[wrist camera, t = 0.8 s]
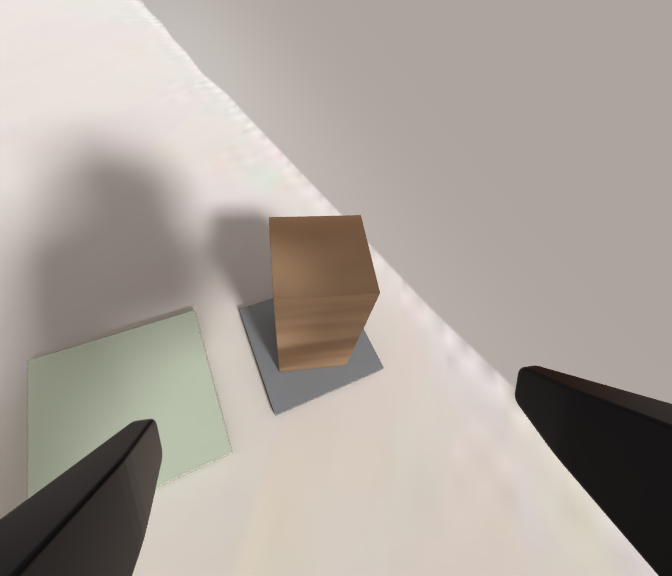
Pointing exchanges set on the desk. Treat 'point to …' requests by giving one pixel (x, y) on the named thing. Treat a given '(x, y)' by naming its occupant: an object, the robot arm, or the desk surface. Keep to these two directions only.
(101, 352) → the sage plate
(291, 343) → the walnut block
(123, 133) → the desk surface
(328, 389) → the slate tile
